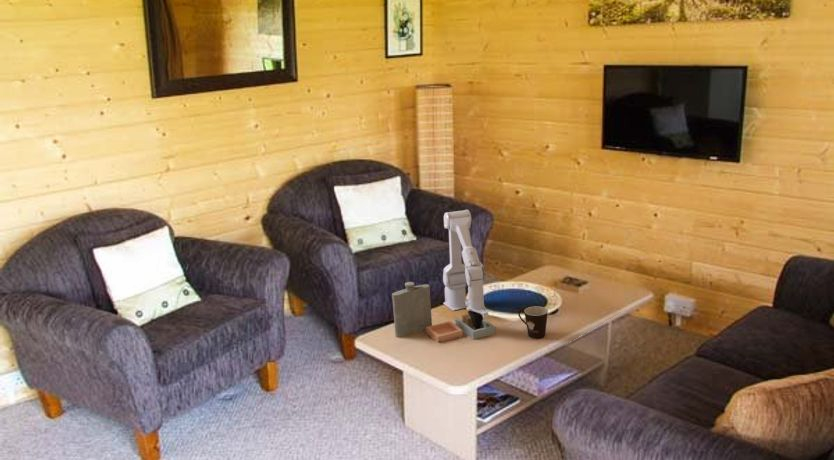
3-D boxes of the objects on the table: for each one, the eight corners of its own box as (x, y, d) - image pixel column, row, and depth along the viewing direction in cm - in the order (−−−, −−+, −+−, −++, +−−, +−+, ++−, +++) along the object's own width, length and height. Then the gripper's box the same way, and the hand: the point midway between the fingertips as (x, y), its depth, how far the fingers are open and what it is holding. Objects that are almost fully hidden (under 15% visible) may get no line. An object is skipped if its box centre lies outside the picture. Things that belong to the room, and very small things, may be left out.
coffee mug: (552, 337, 285) (552, 312, 282) (532, 342, 282) (531, 317, 279) (536, 325, 296) (536, 301, 293) (517, 330, 293) (516, 306, 290)
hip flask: (397, 338, 294) (393, 289, 288) (393, 334, 297) (388, 286, 291) (433, 327, 301) (430, 279, 295) (428, 324, 304) (425, 277, 298)
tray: (426, 332, 296) (426, 327, 296) (450, 326, 300) (450, 320, 300) (438, 342, 287) (437, 336, 287) (462, 336, 291) (462, 330, 291)
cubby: (455, 325, 301) (455, 318, 300) (476, 320, 305) (476, 313, 304) (473, 339, 288) (473, 332, 287) (495, 333, 292) (494, 326, 291)
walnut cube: (462, 325, 301) (461, 315, 300) (472, 323, 303) (472, 312, 301) (467, 329, 297) (467, 319, 296) (478, 327, 299) (477, 316, 297)
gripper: (457, 291, 295) (459, 324, 299) (475, 304, 282) (477, 337, 286) (473, 287, 297) (475, 319, 302) (492, 299, 285) (494, 333, 289)
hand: (477, 328), depth 294 cm, fingers closed
